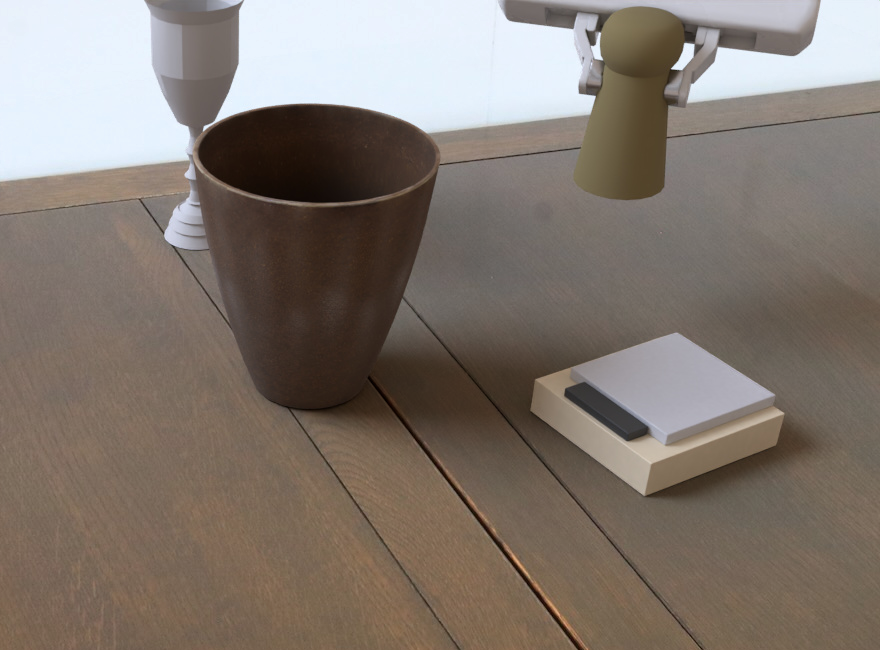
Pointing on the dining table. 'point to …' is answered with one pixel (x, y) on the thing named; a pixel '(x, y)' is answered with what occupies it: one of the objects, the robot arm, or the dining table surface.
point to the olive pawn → (631, 106)
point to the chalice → (193, 83)
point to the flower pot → (313, 239)
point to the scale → (659, 412)
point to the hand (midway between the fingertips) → (632, 97)
